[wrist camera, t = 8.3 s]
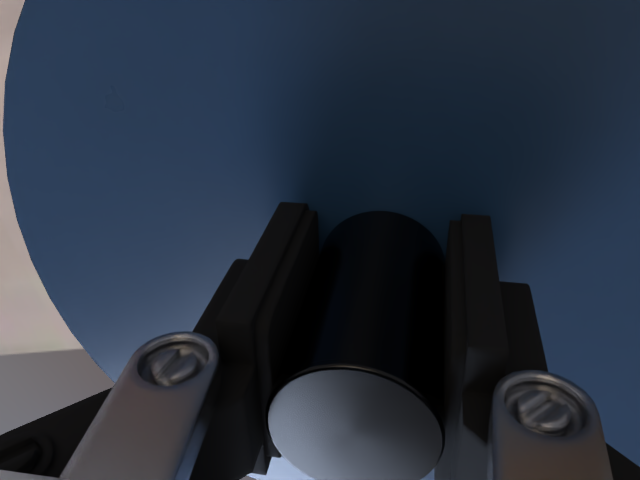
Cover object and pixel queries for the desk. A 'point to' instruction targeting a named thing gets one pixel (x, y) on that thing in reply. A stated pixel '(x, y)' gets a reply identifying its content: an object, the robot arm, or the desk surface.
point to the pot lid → (337, 191)
